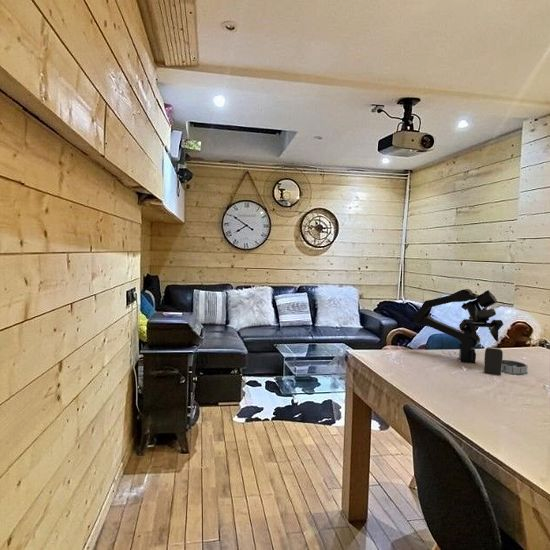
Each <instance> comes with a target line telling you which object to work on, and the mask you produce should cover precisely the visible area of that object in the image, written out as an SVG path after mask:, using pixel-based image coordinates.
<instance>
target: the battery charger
mask: <svg viewBox="0 0 550 550" xmlns="http://www.w3.org/2000/svg"><path fill="white" fill-rule="evenodd" d="M503 355H504V353H503V349H501V348H500V347H499V348H498V347H494V346H492V347H491V346H487V347H486V348H485V350H484V365H483V368H484V369H483V373H485V374H490V375H496V376H497V375H499V376H501V375H502V372H501V368H502V360H504V359H503V357H504V356H503Z"/></svg>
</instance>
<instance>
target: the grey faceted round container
mask: <svg viewBox="0 0 550 550" xmlns="http://www.w3.org/2000/svg"><path fill="white" fill-rule="evenodd" d="M528 367H529V366H528V365H527V364H526V363H524V362H520V361H516V360H509V359H503V360H502V368H501V373H503V372H504V374H507V373H509V375H514V374H516V375H517V376H521V375H522V376H525V375H527V374H528ZM524 374H525V375H524Z"/></svg>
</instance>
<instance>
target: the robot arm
mask: <svg viewBox="0 0 550 550" xmlns="http://www.w3.org/2000/svg"><path fill="white" fill-rule="evenodd" d="M460 302H461V303H462V302H463V303H462V305H461V306H460V308H461V309H463V310H465V311H467V312H468V314H469V316H468V318H464V319H463V320H462V321H461V322H460V323H459V325H458V328H455V327H454V326H451V325H449V324H446V323H443V322H441V321H439V320H436V319H434V318H433V316H431V315H430V313H431V311H432V308H433V307H439V306H441V305H445V304H450V303H460ZM465 302H466V303H465ZM497 303H498V300H497V298H496V297H495V295H494V294H493V293H492V292H491V291H490V290H489V289H488V290H485V291H484V292H482V293H481V294H477V293H474V292H473V291H472V290H471V289H469V288H463V289H460V290H457V291H456V292H454V293H451V294H449V295H445V296H441V297H438V298H433V299H427V300H425V301H423V304H422V305H421V307H419V309H418V311H417V312H416V313H414V314H413V317H412V320H413V322H414V324H415V325H419V326H422V327H428V328H432V329H434V330H437V331H439V332H440V333H441V332H442V333H443V334H446V335H448V336H450V337H453V338H454V339H456V340H458V341H459V342H460V343H459V344H458V347H459V350H458V351H459V353H458V355H459V356H458V358H457V360H458V359H459V360H460V361H461V363H468V364H469V363H470V364H476V359H477V352H476V349H475V348H476V347H477V346H478V345H479V344H480V343H481V338H480V336H479V334H478V333H477V331H476V328H488V330H489V333H490V334H491V336H492V337H493V339H494V340H495V342H498V341H499V330H500V329H501V328H502V327H503V326H504V324H505V323H504V322H503V320H501V319H492V320H491V321H490V318H492V317H494V316H496V315H497V313H496V309H495V308H489V307H491V306H493V305H495V304H497ZM482 308H484V309H482ZM487 308H489V309H487ZM489 321H490V322H489ZM459 360H458V361H459ZM460 361H459V362H460Z"/></svg>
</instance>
